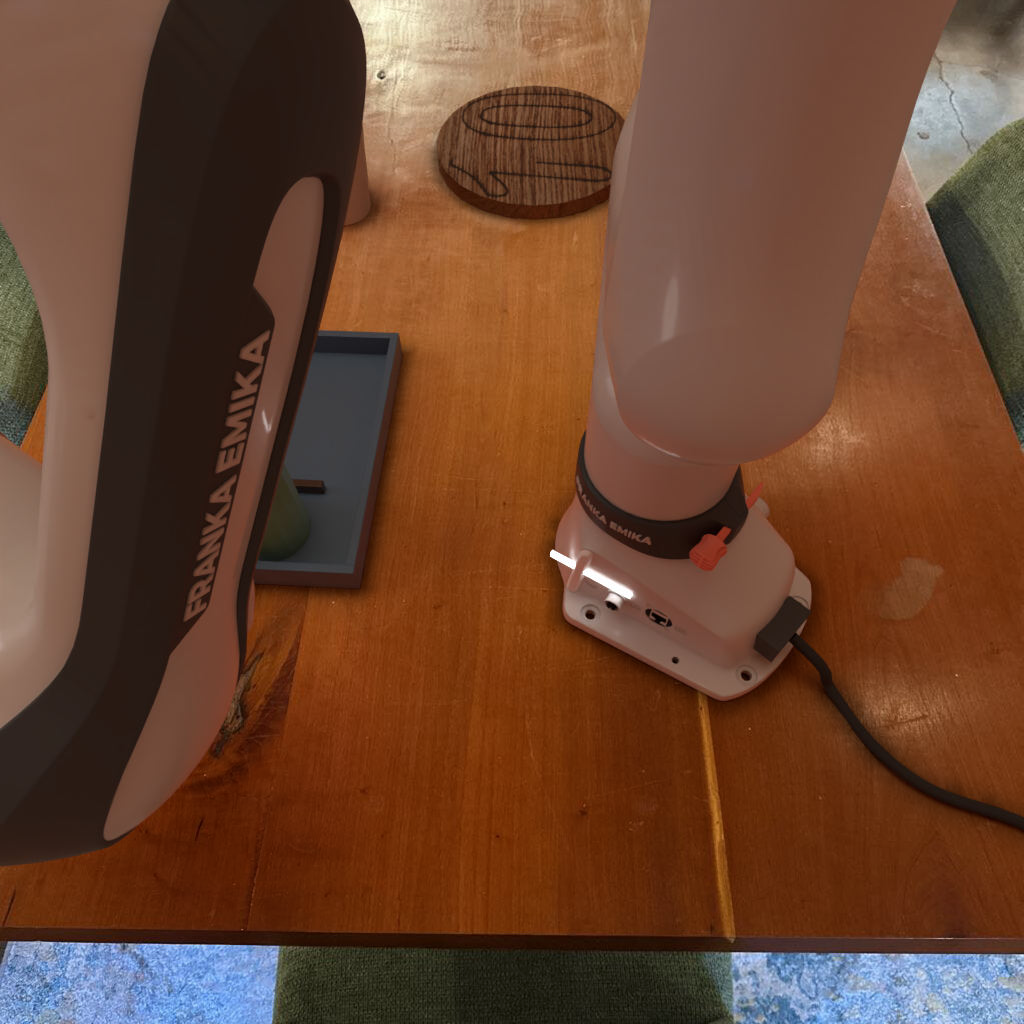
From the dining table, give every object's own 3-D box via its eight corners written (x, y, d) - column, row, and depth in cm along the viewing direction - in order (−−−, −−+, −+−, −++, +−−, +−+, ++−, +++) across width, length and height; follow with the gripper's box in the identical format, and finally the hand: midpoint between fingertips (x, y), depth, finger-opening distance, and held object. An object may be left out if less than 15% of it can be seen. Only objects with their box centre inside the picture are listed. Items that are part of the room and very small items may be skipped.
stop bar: (324, 494, 71) (321, 487, 70) (240, 490, 71) (236, 483, 70) (326, 487, 71) (323, 480, 70) (242, 483, 72) (238, 476, 71)
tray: (359, 589, 67) (353, 573, 64) (162, 579, 67) (148, 563, 65) (402, 353, 81) (398, 332, 78) (239, 347, 82) (230, 326, 79)
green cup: (326, 525, 69) (291, 447, 59) (269, 576, 67) (222, 504, 56) (277, 486, 72) (236, 404, 61) (221, 533, 69) (168, 456, 59)
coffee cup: (370, 239, 90) (344, 117, 77) (293, 229, 91) (255, 107, 78) (392, 188, 95) (372, 65, 82) (320, 179, 96) (288, 57, 83)
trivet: (638, 219, 91) (640, 205, 90) (430, 219, 92) (428, 205, 90) (626, 98, 104) (628, 85, 103) (444, 99, 105) (442, 85, 103)
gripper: (175, 599, 32) (302, 522, 45) (-266, 536, 34) (-19, 480, 47) (175, 735, 33) (298, 621, 47) (-248, 667, 35) (-13, 577, 48)
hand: (136, 550), depth 47 cm, fingers closed
